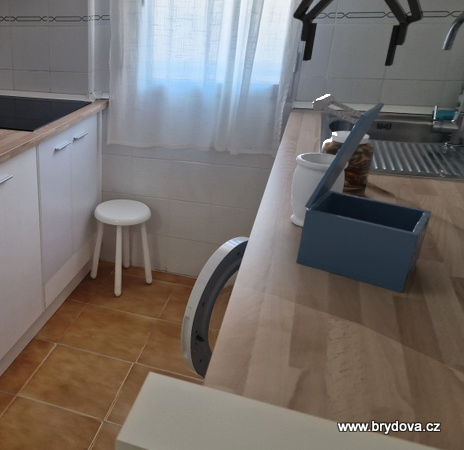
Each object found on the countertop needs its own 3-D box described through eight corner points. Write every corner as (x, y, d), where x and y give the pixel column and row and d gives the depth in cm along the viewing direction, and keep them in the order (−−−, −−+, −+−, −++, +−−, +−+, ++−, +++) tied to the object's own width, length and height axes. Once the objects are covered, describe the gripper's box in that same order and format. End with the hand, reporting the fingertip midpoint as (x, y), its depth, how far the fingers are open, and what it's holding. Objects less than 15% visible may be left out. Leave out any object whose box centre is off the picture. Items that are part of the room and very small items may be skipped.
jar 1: (331, 235, 116) (345, 168, 110) (281, 225, 121) (292, 161, 115) (337, 219, 124) (351, 156, 118) (290, 210, 129) (301, 149, 123)
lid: (384, 104, 99) (336, 82, 103) (365, 116, 89) (313, 92, 93) (330, 189, 110) (289, 166, 114) (308, 208, 100) (263, 183, 104)
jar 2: (330, 180, 150) (341, 127, 144) (372, 192, 141) (386, 136, 135) (305, 188, 143) (315, 133, 138) (347, 201, 135) (360, 142, 129)
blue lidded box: (416, 264, 104) (431, 211, 99) (401, 292, 94) (418, 235, 90) (318, 239, 114) (328, 190, 110) (296, 262, 105) (306, 209, 100)
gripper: (287, -68, 94) (269, 59, 102) (460, -80, 79) (423, 69, 87) (300, -65, 99) (282, 56, 107) (465, -76, 84) (430, 65, 93)
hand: (345, 62), depth 97 cm, fingers open, 13 cm apart
